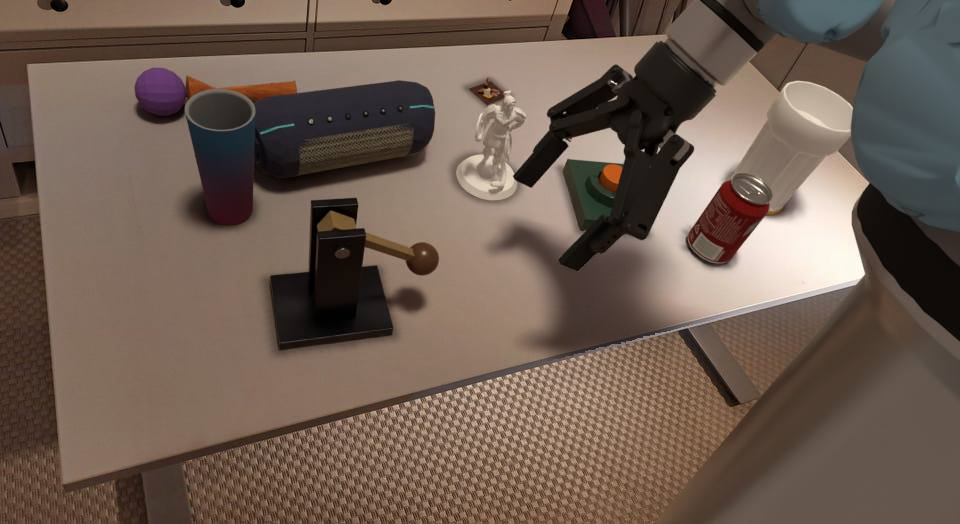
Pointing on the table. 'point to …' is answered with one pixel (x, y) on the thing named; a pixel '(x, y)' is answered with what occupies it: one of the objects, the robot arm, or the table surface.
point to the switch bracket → (331, 287)
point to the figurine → (492, 172)
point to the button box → (588, 190)
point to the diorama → (488, 92)
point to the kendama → (191, 90)
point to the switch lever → (388, 245)
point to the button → (610, 177)
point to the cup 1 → (224, 151)
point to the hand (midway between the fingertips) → (543, 221)
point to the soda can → (730, 218)
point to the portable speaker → (341, 127)
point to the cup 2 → (797, 138)
